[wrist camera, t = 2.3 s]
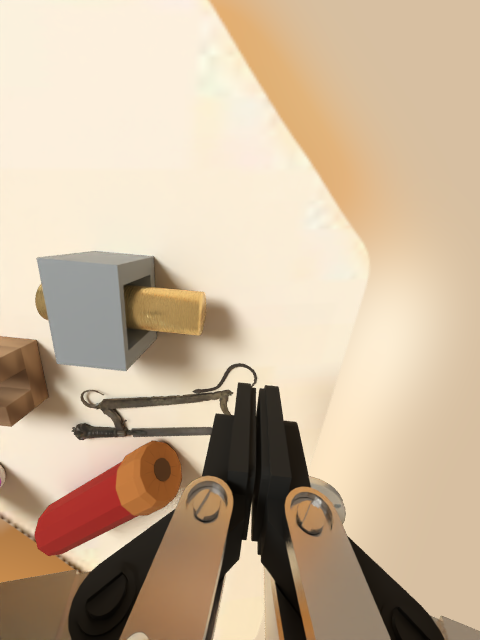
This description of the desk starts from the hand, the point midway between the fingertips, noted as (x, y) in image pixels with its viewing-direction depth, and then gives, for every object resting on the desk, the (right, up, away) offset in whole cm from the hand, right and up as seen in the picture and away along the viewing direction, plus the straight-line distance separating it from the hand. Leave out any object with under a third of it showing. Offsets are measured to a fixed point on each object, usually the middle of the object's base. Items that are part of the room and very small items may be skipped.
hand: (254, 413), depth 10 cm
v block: (-28, -2, +19) cm, 34 cm away
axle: (-11, +6, +15) cm, 19 cm away
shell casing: (-17, -18, +25) cm, 35 cm away
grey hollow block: (-12, +6, +16) cm, 21 cm away
